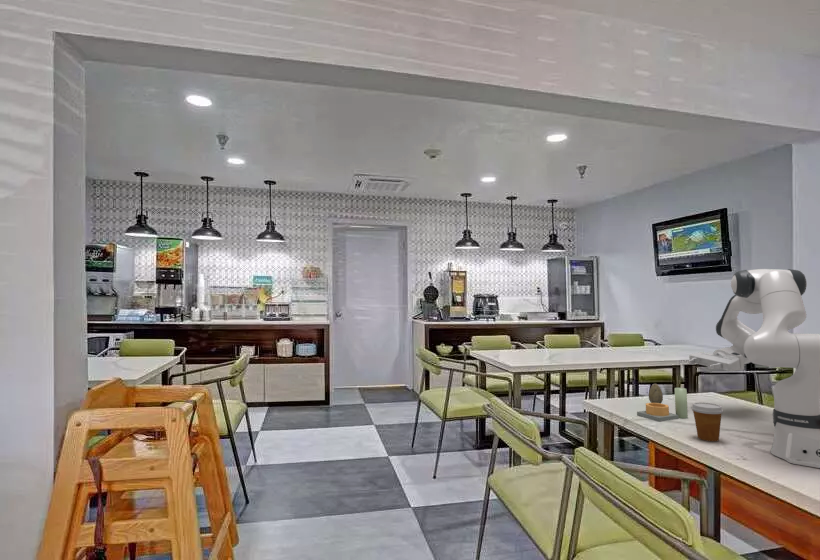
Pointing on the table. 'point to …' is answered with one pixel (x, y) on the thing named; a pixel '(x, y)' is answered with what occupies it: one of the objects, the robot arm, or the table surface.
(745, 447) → the table surface
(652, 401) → the decorative egg
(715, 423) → the disposable coffee cup
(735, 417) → the table surface
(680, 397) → the pale green cylinder
